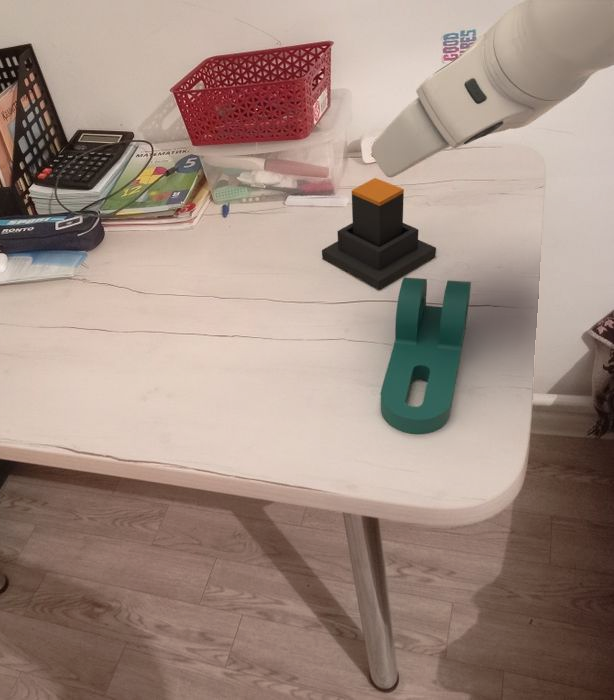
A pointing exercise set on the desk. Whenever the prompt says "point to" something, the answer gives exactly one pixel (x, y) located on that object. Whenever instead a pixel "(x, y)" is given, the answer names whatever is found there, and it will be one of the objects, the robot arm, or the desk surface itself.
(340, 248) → the square base socket
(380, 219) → the upright block
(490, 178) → the desk surface
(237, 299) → the desk surface
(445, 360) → the bracket
